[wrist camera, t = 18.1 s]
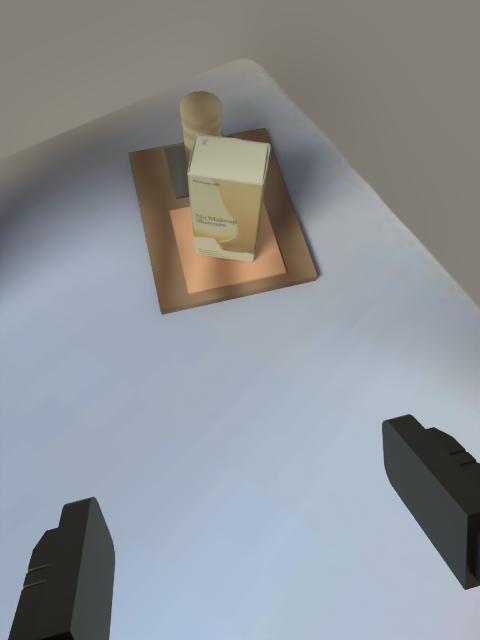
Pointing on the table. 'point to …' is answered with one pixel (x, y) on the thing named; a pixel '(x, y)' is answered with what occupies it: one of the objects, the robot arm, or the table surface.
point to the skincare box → (227, 195)
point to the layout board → (177, 233)
